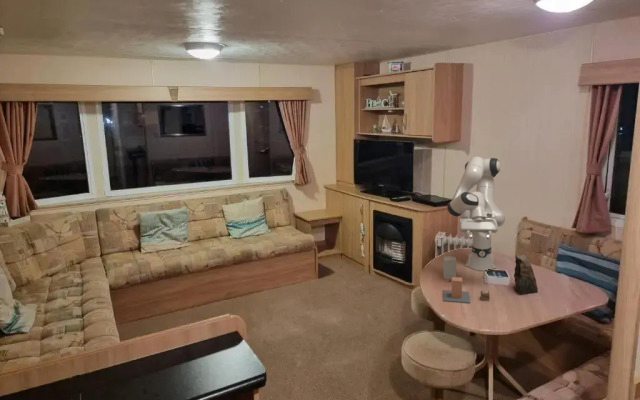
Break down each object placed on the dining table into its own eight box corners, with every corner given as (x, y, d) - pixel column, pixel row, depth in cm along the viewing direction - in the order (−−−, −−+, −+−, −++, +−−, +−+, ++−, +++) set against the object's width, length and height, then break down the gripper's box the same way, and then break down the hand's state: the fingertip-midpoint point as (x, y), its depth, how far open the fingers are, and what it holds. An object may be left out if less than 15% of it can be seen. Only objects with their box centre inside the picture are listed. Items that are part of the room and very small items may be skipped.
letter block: (480, 297, 240) (480, 290, 239) (488, 298, 239) (488, 291, 238) (481, 300, 236) (481, 293, 235) (489, 301, 235) (489, 294, 234)
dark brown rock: (519, 295, 240) (522, 261, 236) (504, 286, 252) (506, 254, 248) (538, 292, 243) (541, 259, 239) (523, 284, 255) (525, 251, 251)
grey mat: (443, 290, 250) (443, 289, 249) (468, 292, 246) (468, 291, 246) (443, 301, 236) (443, 300, 236) (470, 303, 233) (470, 302, 233)
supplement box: (456, 280, 264) (457, 260, 261) (443, 279, 265) (444, 260, 263) (455, 275, 271) (455, 256, 268) (442, 275, 273) (443, 256, 270)
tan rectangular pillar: (451, 293, 244) (452, 276, 242) (461, 294, 243) (462, 277, 241) (451, 297, 239) (451, 280, 237) (461, 298, 238) (462, 281, 236)
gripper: (459, 214, 253) (460, 235, 246) (497, 214, 248) (499, 236, 241) (459, 219, 258) (459, 240, 251) (495, 220, 253) (497, 241, 246)
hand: (479, 238), depth 246 cm, fingers open, 8 cm apart
